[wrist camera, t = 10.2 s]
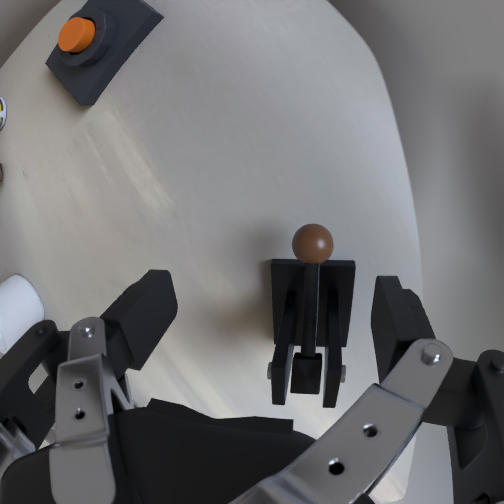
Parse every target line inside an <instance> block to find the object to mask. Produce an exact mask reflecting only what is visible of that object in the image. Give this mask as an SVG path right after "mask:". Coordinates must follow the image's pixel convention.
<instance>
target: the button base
mask: <svg viewBox="0 0 504 504" xmlns="http://www.w3.org/2000/svg"><path fill="white" fill-rule="evenodd" d="M75 17H79V18H83V19H87V20H90V21H92V22H93V23H94V25H95V34H94V38H93V40H92V42H91V43H90V45H89V46H88V47H87V48H86V49H85V50H83V51H81V52H68V51H63V50H61V49H60V47H59V44H58V43H57V45H56V46H55V48H54V50H53V51H52V53H51V55H50V56H49V58H48V60H47V61H46V63H45V64H46V65H47V66H48V67H49V69H50V70H51V71H52V72H53V73H54V75H55V76H56V77H57V78H58V79H59V81H60V82H61V83H62V84H63V85H64V87H65V88H66V89H67V90H68V91H69V92H70V94H71V95H72V96H73V97H74V98H75V99H76V101H77V102H78V103H79V104H80V105H81V106H82V105H94V104H95V102H96V101H97V99H98V98H99V96H100V95H101V93H102V92H103V90H104V89H105V88H106V86H107V85H108V83H109V82H110V81H111V79H112V78H113V77H114V75H115V74H116V73H117V71H118V70H119V69H120V68H121V66H122V65H123V64H124V62H125V61H126V60H127V59H128V57H129V56H130V55H131V54H132V53H133V51H134V50H135V49H136V48H137V47H138V45H139V44H140V43H141V42H142V41H143V40H144V38H145V37H146V36H147V35H148V34H149V33H150V32H151V31H152V30H153V28H154V27H155V26H156V25H157V24H158V23H159V22H160V21H161V20H162V19H163V18H164V17H163V16H162V15H161V14H160V13H158V12H157V11H156V10H154V9H153V8H152V7H151V6H149V5H148V4H147V3H145V2H144V1H143V0H88V1H87V2H86V4H85V5H84V6H83V7H82V9H81V10H79V11H78V12H77V13H75V14H74V15H72V16H71V17H70V19H72V18H75ZM70 19H69V20H70ZM69 20H68V21H69ZM68 21H67V22H68Z"/></svg>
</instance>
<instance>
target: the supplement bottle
mask: <svg viewBox="0 0 504 504" xmlns="http://www.w3.org/2000/svg"><path fill="white" fill-rule="evenodd" d="M5 119H6V104H5V101H4V99H3V98H1V97H0V129H1V128H2V127H3V125H4V123H5Z"/></svg>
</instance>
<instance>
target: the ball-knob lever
mask: <svg viewBox="0 0 504 504" xmlns="http://www.w3.org/2000/svg"><path fill="white" fill-rule="evenodd" d="M333 245H334V244H333V238H332V236H331V234H330V232H329V231H328V230H327V229H326V228H325V227H323V226H321V225H319V224H307V225H304V226H302V227H301V228H300V229H298V231H297V232H296V233H295V235H294V237H293V241H292V248H293V252H294V254H295V256H296V257H297V259H298V260H300V261H301V262H302V263H304V264H305V282H304V306H303V326H302V343H301V353H299V352H296V353H295V354H294V357H293V361H292V376H291V389H290V393H298V394H319V392H320V381H321V370H322V354H321V353H315V351H316V336H317V319H318V299H319V270H320V264H321V263H323V262H325V261H326V260H327V259H328V258H329V257H330V255H331V254H332V251H333Z"/></svg>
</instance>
